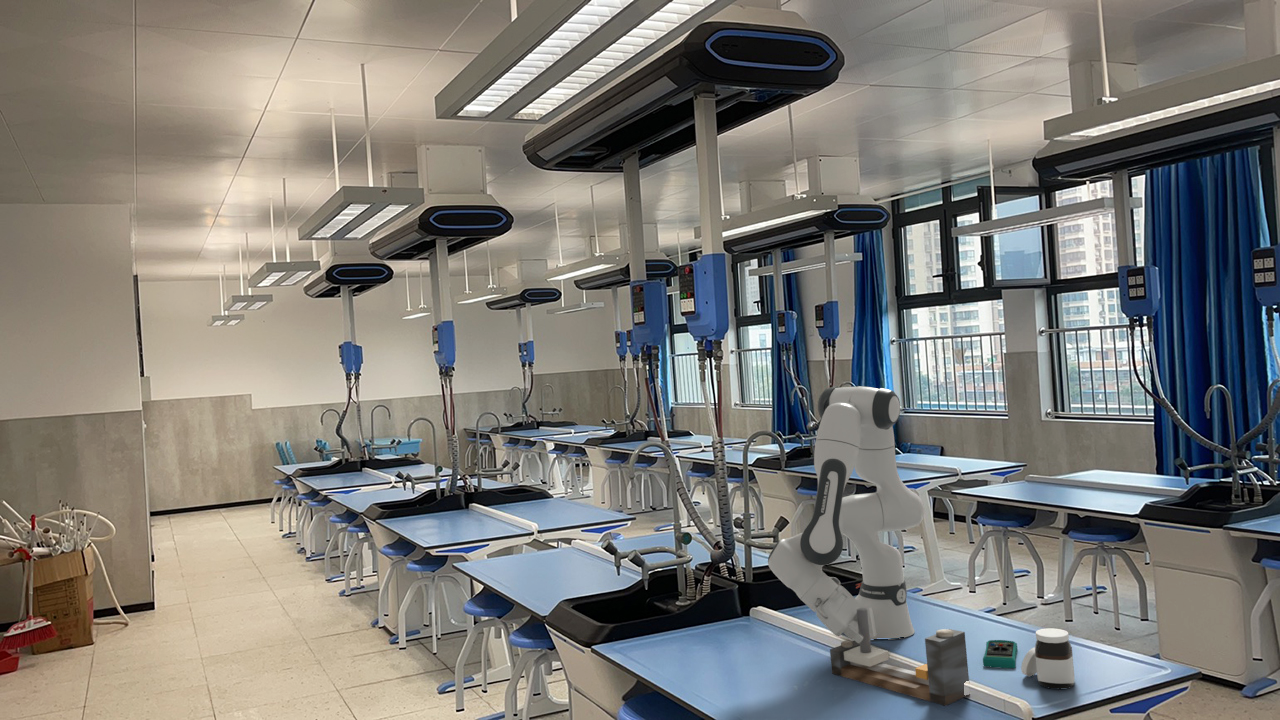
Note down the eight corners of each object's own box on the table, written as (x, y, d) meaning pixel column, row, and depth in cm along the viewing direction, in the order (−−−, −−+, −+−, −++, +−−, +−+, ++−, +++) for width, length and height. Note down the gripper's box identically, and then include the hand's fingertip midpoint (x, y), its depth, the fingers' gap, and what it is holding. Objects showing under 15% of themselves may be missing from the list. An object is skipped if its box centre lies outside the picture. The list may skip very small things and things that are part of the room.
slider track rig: (832, 673, 230) (826, 613, 231) (856, 664, 236) (851, 605, 236) (945, 705, 204) (939, 638, 204) (970, 694, 209) (964, 628, 209)
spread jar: (1073, 693, 205) (1068, 640, 205) (1018, 688, 210) (1013, 637, 210) (1077, 675, 215) (1072, 624, 215) (1025, 671, 221) (1020, 622, 221)
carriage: (844, 660, 228) (839, 610, 228) (863, 652, 232) (858, 604, 233) (869, 666, 222) (865, 615, 222) (888, 659, 226) (884, 609, 226)
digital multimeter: (1018, 651, 236) (1016, 639, 236) (1015, 670, 223) (1014, 658, 223) (987, 650, 239) (986, 638, 239) (983, 669, 226) (982, 656, 226)
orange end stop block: (916, 677, 212) (915, 668, 212) (929, 671, 215) (928, 662, 215) (927, 679, 210) (926, 671, 210) (940, 674, 213) (939, 665, 213)
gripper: (820, 596, 221) (866, 638, 217) (837, 575, 239) (879, 614, 236) (803, 614, 222) (848, 657, 218) (821, 592, 241) (863, 631, 237)
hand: (864, 634), depth 227 cm, fingers open, 8 cm apart
